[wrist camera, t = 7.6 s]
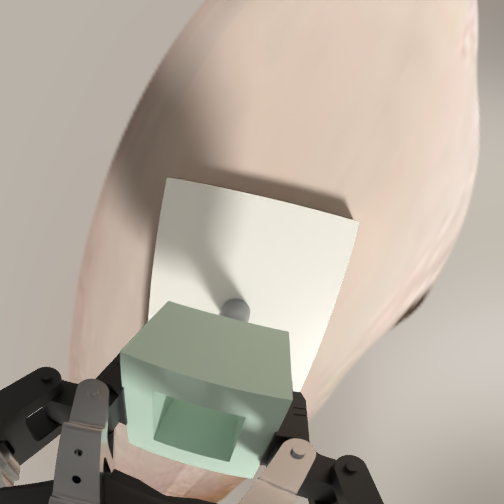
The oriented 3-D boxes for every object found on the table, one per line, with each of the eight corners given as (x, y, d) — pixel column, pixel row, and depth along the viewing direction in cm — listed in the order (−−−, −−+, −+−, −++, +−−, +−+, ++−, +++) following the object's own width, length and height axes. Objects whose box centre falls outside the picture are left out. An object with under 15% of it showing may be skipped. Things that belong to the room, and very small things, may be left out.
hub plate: (175, 178, 18) (124, 173, 12) (353, 219, 18) (393, 235, 11) (152, 360, 22) (118, 408, 15) (292, 396, 22) (293, 456, 15)
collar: (168, 300, 12) (119, 351, 7) (289, 331, 12) (293, 399, 7) (161, 387, 13) (129, 443, 9) (259, 413, 13) (252, 478, 8)
